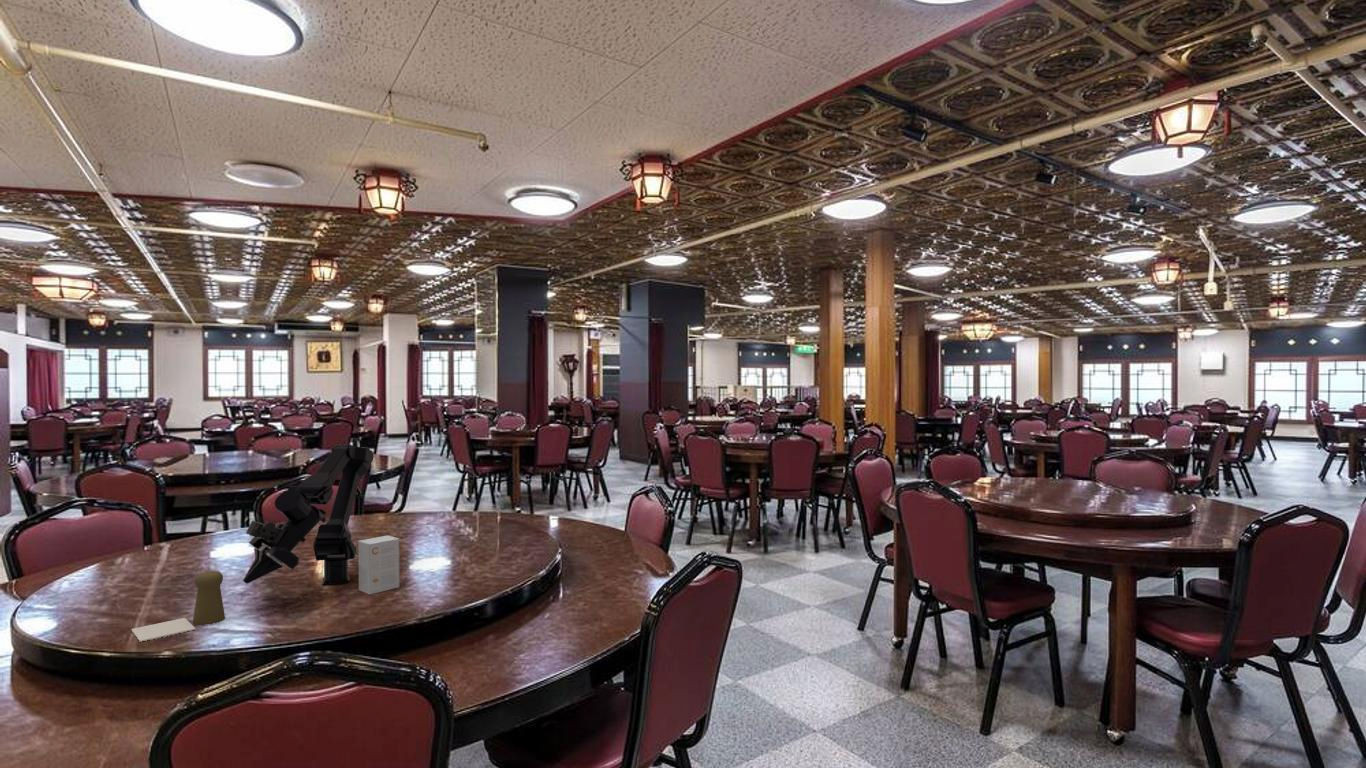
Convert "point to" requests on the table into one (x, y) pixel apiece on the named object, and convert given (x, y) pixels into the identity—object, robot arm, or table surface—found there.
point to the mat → (162, 629)
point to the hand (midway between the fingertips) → (244, 582)
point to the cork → (208, 598)
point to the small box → (378, 564)
